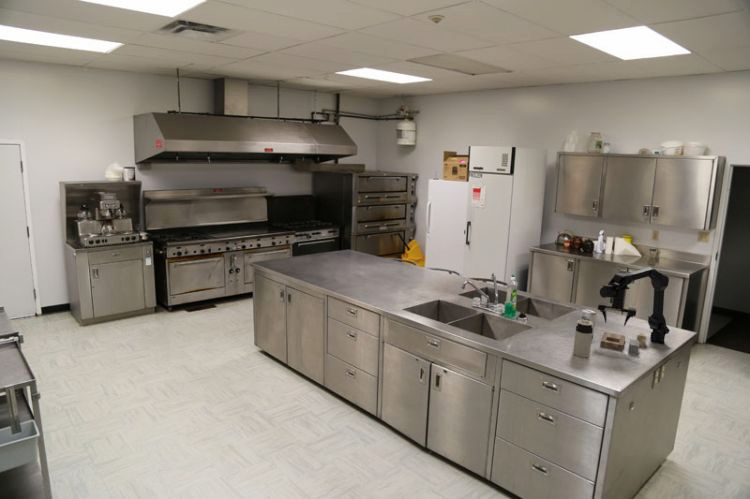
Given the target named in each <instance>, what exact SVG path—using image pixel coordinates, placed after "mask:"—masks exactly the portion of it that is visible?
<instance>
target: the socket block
mask: <svg viewBox="0 0 750 499" xmlns="http://www.w3.org/2000/svg"><path fill="white" fill-rule="evenodd" d="M602 334H603V335H602V337H601V340H600V344H599V346H600V347H601V348H607V349H612V350H617V351H621V352H622V351H623V350H624V345H625V342H626V335H624V334H619V333H612V332H607V331H603V333H602Z"/></svg>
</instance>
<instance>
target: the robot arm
mask: <svg viewBox="0 0 750 499" xmlns="http://www.w3.org/2000/svg"><path fill="white" fill-rule="evenodd" d="M647 277H648V278H649V279H650V282H651V286H652V288H653V304H652V313H651V315H648V316H647V324H648V326H649V329H650V330H652V331H650V338H649V340H650V342H651V343H655V344H661V345H665V338H666V335H667V334H670V329H669V327H668V326H667V320H666V318H665V315H664V303H665V290H666V289H667V288H668V286H669V281H670V278H669V276H668V275H665V274H662V273H661V272H659V271H658V270H656V269H655V268H653V267H649V266H647V267H645V268H642V269H638V270H635V271H631V272H617V273H615V274H614V275H613V277H612V278H611V279H610V281H609V282H608V283H607V284H603V285H602V287H601V288H600V289H599V295H600V298H602V299H604V298H605V299H606V298H607V299H608V298H610V299H609V303H610V304H611V305H608V304H607V303H604V302H599V303H598V305H597V310H598V311H599V312H600V313H602V315H603V319H604V323H607V319H608V318H607V317H608V315H607V314H608V313H607V311H608V310H611V311H616V312H622V313H626V316H625V320H624V323H623V327H625V326H626V324H627V323H628V321H629V320H630V318H633V317H636V316H637V308H633V307H628V308H624V306H625V298H626V290H630V287H629V286H628V285H631V283H632V282H634V281H638V280H641V279H644V278H647Z"/></svg>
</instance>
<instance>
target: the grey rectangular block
mask: <svg viewBox="0 0 750 499" xmlns="http://www.w3.org/2000/svg"><path fill="white" fill-rule="evenodd" d="M628 343H629V344H628V350H627V352H628V354H632V355H636V356H639V355H638V354H639V348H640V346H639V341H638V340H637V339H631V338H629V342H628Z"/></svg>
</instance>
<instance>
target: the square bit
mask: <svg viewBox="0 0 750 499" xmlns="http://www.w3.org/2000/svg"><path fill="white" fill-rule="evenodd" d="M647 336H648V334H647V333H642V332H637V336H636V340H638V341H639V347H644V348H645V347H646V342H647V338H648V337H647Z"/></svg>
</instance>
